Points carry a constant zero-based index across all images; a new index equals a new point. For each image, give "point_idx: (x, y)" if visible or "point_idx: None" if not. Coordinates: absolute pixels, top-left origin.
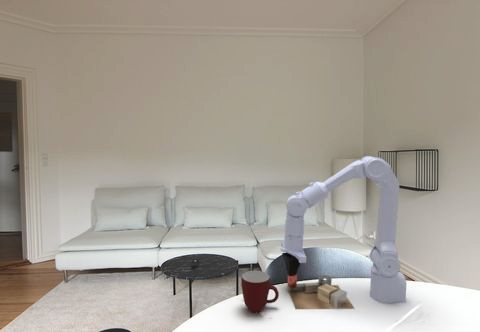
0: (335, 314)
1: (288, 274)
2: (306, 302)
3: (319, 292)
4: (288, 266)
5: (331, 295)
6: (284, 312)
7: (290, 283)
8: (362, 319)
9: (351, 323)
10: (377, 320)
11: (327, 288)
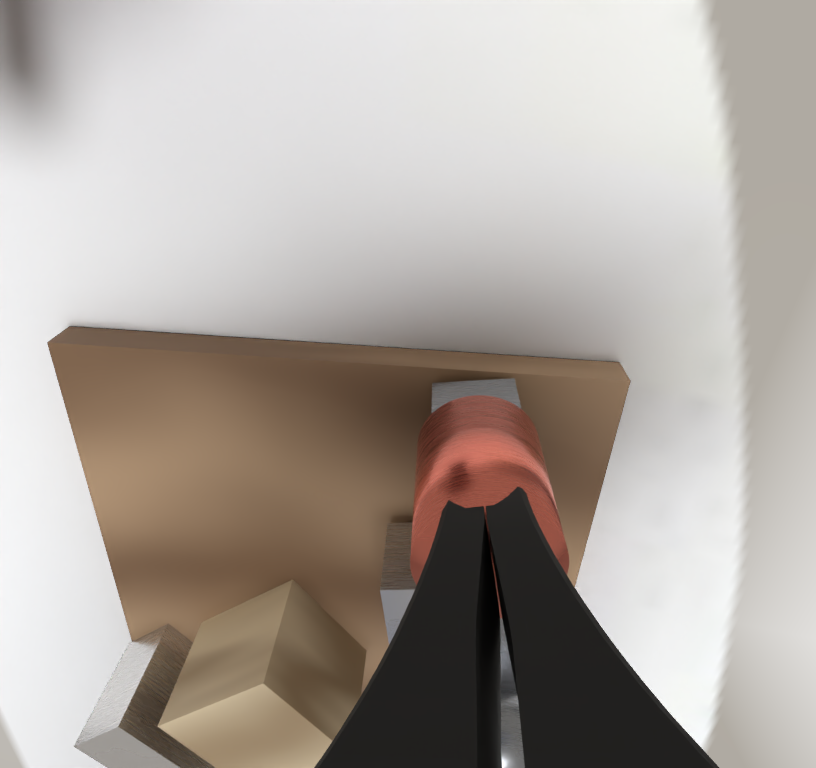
0: (111, 605)
1: (466, 518)
2: (206, 477)
3: (259, 646)
4: (405, 672)
5: (115, 721)
6: (45, 209)
7: (427, 448)
8: (82, 708)
9: (13, 647)
10: (89, 758)
11: (243, 739)
